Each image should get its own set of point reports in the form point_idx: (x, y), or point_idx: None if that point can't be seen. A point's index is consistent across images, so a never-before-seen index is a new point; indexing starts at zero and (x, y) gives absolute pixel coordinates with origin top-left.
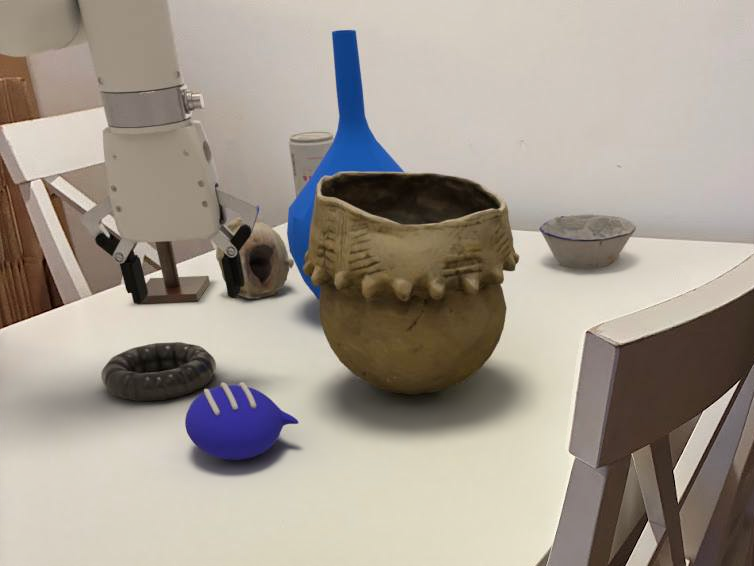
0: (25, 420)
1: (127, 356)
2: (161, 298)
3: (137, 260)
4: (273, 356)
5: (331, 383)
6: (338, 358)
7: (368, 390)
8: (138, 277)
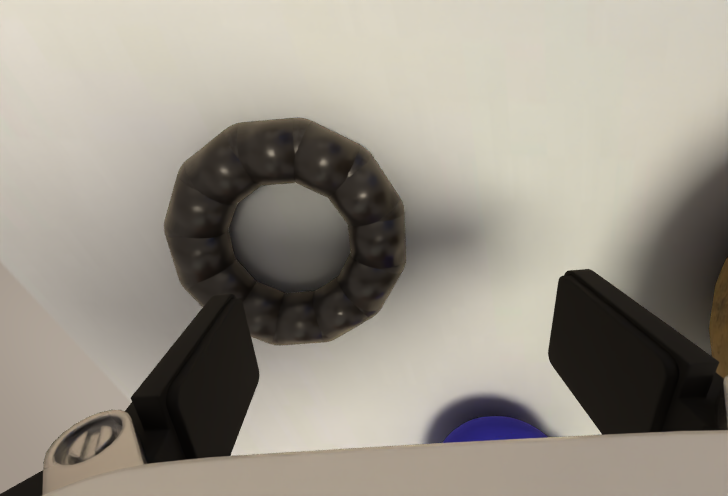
0: (127, 371)
1: (203, 230)
2: None
3: (192, 426)
4: (509, 75)
5: (632, 240)
6: (716, 372)
7: (696, 272)
8: (227, 405)
